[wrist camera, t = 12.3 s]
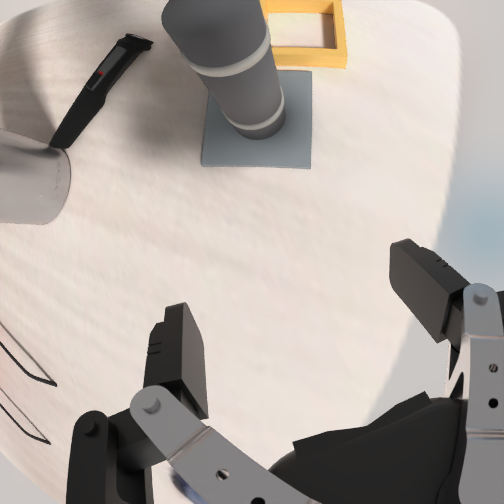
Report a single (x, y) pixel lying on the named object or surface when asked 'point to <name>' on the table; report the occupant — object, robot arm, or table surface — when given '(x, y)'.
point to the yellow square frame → (317, 57)
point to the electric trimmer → (98, 89)
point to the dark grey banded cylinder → (231, 59)
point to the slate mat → (270, 149)
